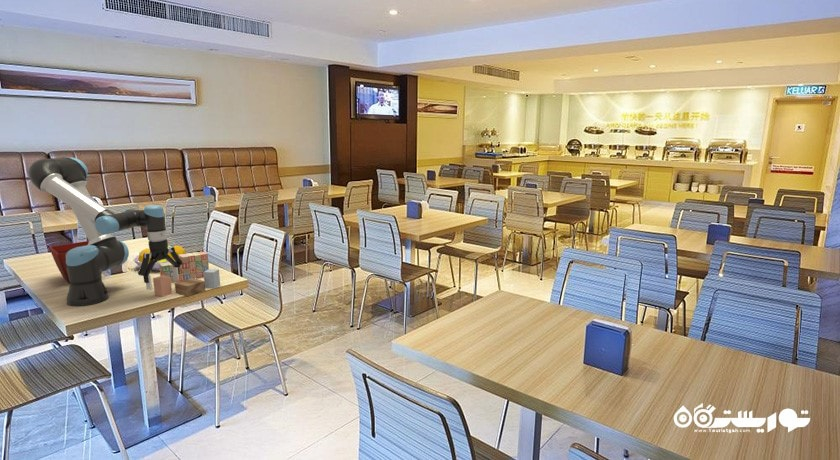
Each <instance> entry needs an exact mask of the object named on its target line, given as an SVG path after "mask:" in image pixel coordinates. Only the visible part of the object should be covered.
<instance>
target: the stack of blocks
mask: <svg viewBox="0 0 840 460" xmlns="http://www.w3.org/2000/svg"><path fill="white" fill-rule="evenodd" d="M187 253H188V254H181V255H179V258H180V260H181V261H182V263H183V264H182V265H181V266H180V267H179V273H178V274H179V281H174V277H173V269H172V267H175V266H173V265H172V264H171V263H170V262H166V263H160V264H159V265H160V270H159V274H160V276H162V275H164V276H169V277H170V278H171V284H174V283H176V282H180V281H183V280H187V279H190V278H196V279H200V278H201V277H202V278H204V271H206V270H208V269H210V268H209V263H210V262H209V256H208V252H206V251H199V252H198V251H194V252H187ZM175 262H176V261H175ZM202 278H201V279H202Z"/></svg>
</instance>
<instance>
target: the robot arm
mask: <svg viewBox="0 0 840 460" xmlns="http://www.w3.org/2000/svg"><path fill="white" fill-rule="evenodd" d="M27 174H28V178H29V180H30V182H31V183H32V185H33V186H35V188H37V189H38V190H40V191H41V192H42V193H47V194H48V193H49V194H50V195H52V196H54V197H55V198H57V199H58V200H60V201H61V202H63V203H64V204H65V205H67V206H69V207H70V208H71V209H72V211H73V213H74V215H75V217H76V219H77V221H78V224H79V225H80V227H81V229H82V230H83V232H84V235H85V236H86V239H87V241H89V243H88V245H86V246H82V247H76V248H74V249H71V250H69V251H68V252H67V253H66V265H67V271H68V277H69V283H68V284H69V288H68V291H67V295H66V303H67V305H69V306H73V307H77V306H78V307H79V306H83V307H84V306H88V305H89V306H90V305H95V304H98V303H102V302H103V301H106V300H107V299H109V297H110V294H109V291H108V289H107V287H106V286H105V283H104V282H103V279H102V273H103V272H106V271H108V270H111V269H114V268H118V267H120V266H121V265H124V264H125V263H126V262H127V260H128V258H129V255H130V254H129V253H130V252H129V248H128V246H127V244H126V243H125V242H123V241H121V240H118V239H117V237H116V235H113V234H115V233H117V232H120V231H124V230H128V229H132V228H138V227H140V228H141V227H143V228H146V233H147V234H146V235H147V240H148V249H150V253H144V254H143V261H142V264H141V267H139V271H138V276H142V277H143V283H144V284H145V286H146V290H148V291H152V290H153V284H152V277H151V276H152V275H150V273H151V271H153V270H152V268H153V266H154V265H155V263H156V262H157V261H160V260H164V259H166V260H167V261H169V262H170V263H171V264H172V265H173V266H175V267H172V269H173V277H174V281H179V274H178V273H179V267H180V266H181V265H182V264H183V263H182V261H181V260H180V258H179V257H178V255H177V254H176V252H175V248H174V246H169V248H167V247H168V245H169V241H167V240H168V239H167V238H168V234H167V226H166V218H165V217H166V216H165V209H164V207H163V206H162V205H161V204H160V205H159V204H158V205H157V204H155V205H154V204H151V205H146V206H145V207H143V209H132V208H131V209H122V211H120V212H117V213H115V212H113V211H111V210H110V209H108V208H107V207H105V206H104V205H102V204H101V203H99V202H97V201H96V200H95V199H93V198H92V197H91V194H90V192H89V191H88V189H87V187H86V185H87V184H88V181H87V178H88V176H89V175H88V174H89V171H88V167H87V166H86V164H85V163H84V162H83V160H80V159H78V158H76V157H69V156H64V157H54V158H41V159H40V158H39V159H37V160H35V161H33V162H32V163H31V165H30V166H29V168H28V172H27ZM168 252H170V254H171V255H172V257H173V258H174V260H175V261H176V262H175V261H174V260H173V259H172V258H171V257H170V256H169V255H168ZM150 256H151V258H150ZM149 258H150V262H149ZM153 259H154V260H153ZM148 262H149V263H148ZM101 272H102V273H101ZM179 282H180V281H179Z"/></svg>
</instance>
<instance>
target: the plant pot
mask: <svg viewBox="0 0 840 460" xmlns="http://www.w3.org/2000/svg"><path fill="white" fill-rule="evenodd" d="M88 243H89V240H87V241H85V240H84V241H79V242H72V243H64V244H58V245H51V246H49V250H50V254H51V256H52V257H53V261H54V263H55V264H56V267H57V269H58V270H59V272H60V274H61V276H62V277H63V279H64V280H65V281H66V282H67V283H68V284H69V277H68V271H67V265H66V253H67V252H68V251H69V250H71V249H74V248H76V247H82V246H86V245H88ZM102 273H103V272H101V274H102Z"/></svg>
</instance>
